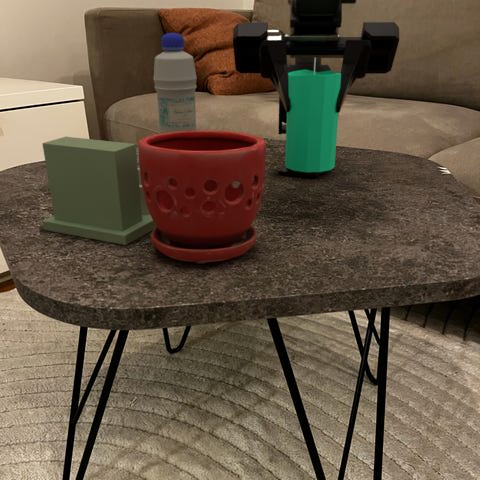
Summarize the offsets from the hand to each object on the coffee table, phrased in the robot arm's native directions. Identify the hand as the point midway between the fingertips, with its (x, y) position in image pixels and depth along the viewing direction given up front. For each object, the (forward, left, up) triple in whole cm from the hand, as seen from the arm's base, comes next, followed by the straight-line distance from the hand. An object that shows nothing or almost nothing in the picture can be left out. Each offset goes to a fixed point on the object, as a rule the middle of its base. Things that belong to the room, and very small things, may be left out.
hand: (312, 110), depth 67 cm
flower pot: (+13, -7, -13) cm, 20 cm away
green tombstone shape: (+6, -22, -13) cm, 26 cm away
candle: (-1, -1, -7) cm, 7 cm away
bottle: (-18, -29, -13) cm, 37 cm away
